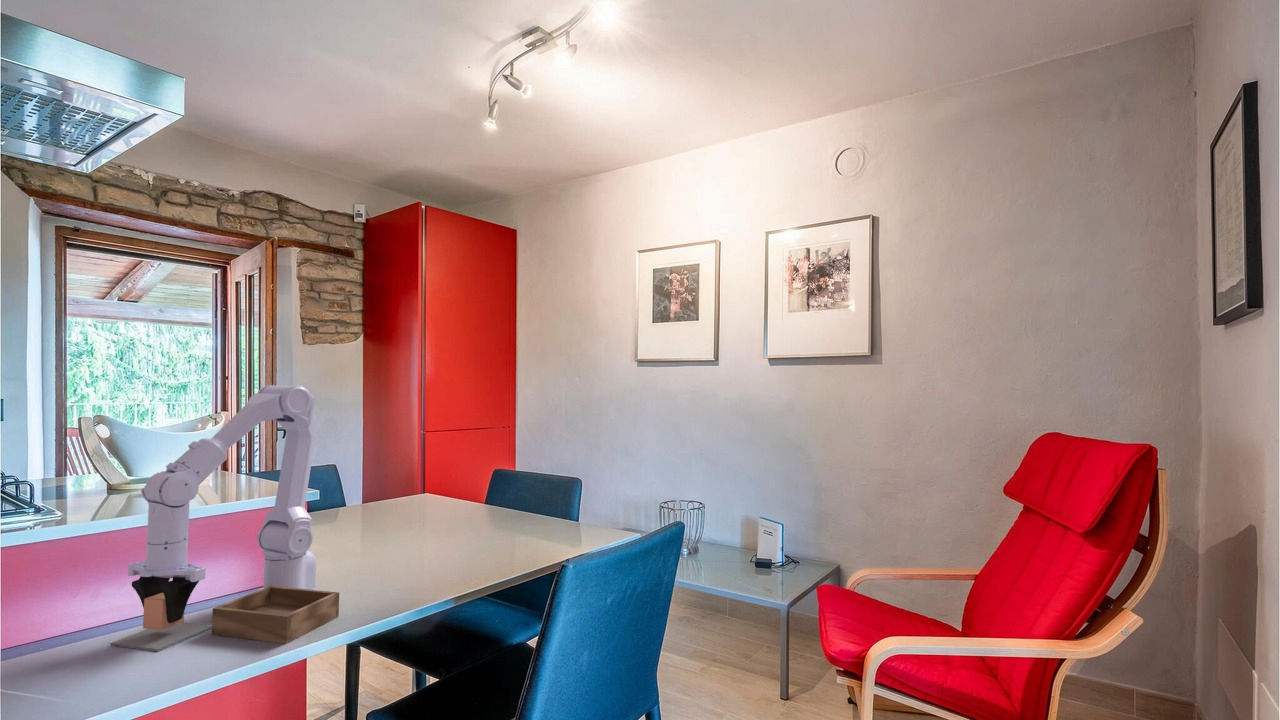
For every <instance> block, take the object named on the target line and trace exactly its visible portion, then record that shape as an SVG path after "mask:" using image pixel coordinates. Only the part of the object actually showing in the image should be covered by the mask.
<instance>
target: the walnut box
mask: <svg viewBox="0 0 1280 720" xmlns="http://www.w3.org/2000/svg"><path fill="white" fill-rule="evenodd" d="M211 611H212V615H211V617H212V618H211V626H212V629H211V635H213V636H221V637H229V638H230V637H231V638H238V639H244V640H245V639H246V640H255V641H262V642H270V643H278V644H279V643H280V644H289V643H290V642H292V641H294V640H296V639H298V638H300V637H302V636H304V635H305V634H308V633H310V632H311V631H315V629H317V628H319V627H321V626H323V625H325V624H327V623H329V622H331V621H333V620H334V619H336V618H337V619H338V617H339V615H340V612H339V611H340V592H336V591H327V590H319V589H318V590H309V589H298V588H288V587H278V586H269V587H266V588H264V589H263V588H262V589H258V590H256V591H254V592H252V593H249V594H246V595H244V596H241V597H239V598H236V599H233V600H230V601H228V602H225V603H224V604H220V605H218V606H216V607H212V610H211Z"/></svg>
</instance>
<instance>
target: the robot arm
mask: <svg viewBox="0 0 1280 720" xmlns="http://www.w3.org/2000/svg"><path fill="white" fill-rule="evenodd" d="M315 400H316V398H315V397H314V395H313V394H312V393H311V392H310V391H309V390H308V389H307V388H306V387H304V386H302V385H274V384H268V385H264V386H263V387H261V388H260V389H258V392H257V393H254V394H252V395H251V396H250V397H249V398H248V401H247V403H246V404H245V405H244V406H242V408H241V409H240V410H239V411H238V412H236V414H234V415H233V417H232V418H230V420H229V421H227V423H226V424H224V426H223V427H221V428H220V429H219V430H218V431H217V432H216V433H215V434H214V435H213V436H212V437H211V438H200V439H199V440H198V441H196V440H195V441H192V442H191V443H190V444H188V445H187V447H188V448H189V449H187V450H186V451H185V452H184V453H183V454H181V456H180V457H178V458H177V459H176V460H175V461H174V462H169V463H168V464H167V465H165V468H166V469H165V470H163V471H160V472H156V473H154V474H153V475H151V476H150V477H149V478H148V479H147V481H145V485H144V488H143V487H142V488H141V489H140V492H141V496H142V498H143V500H144V501H146V502H147V504H148V514H147V534H146V535H147V536H146V557H145V561H137V562H133V563H130V564H129V563H128V567H127V569H128V570H127V575H128V577H133V576H140V577H139V578H138V579H136V580H133V581H132V582H131V588H133V589H134V591H135V592H136V594H137V596H138V597H139V599H140V601H141V602H140V603H141V605H142V608H143V609H144V599H145V598H148V597H151V596H154V595H157V594H160V593H164V596H165V601H166V615H167V621H168V623H173V622H175V621H178V620H180V619H182V617H183V614H184V615H185V610H186V607H187V605H188V601H189V600H190V597H191V595H192V593H193V592H194V589H195V588H196V586H197V585H198V583H199V582H200V581H201V580H205V579H206V567H203V566H202V567H201V566H199V565H195V564H193V563H190V562H188V551H189V549H188V547H189V546H188V545H189V525H190V523H189V520H190V502H191V501H192V500H194V499H195V498H196V497H197V494H198V492H199V487H200V485H201V484H202V483H203V482H204V481H205V480H206V479H207V478H208V477H210V475H211V474H212V473H213V472H215V471H216V470H217V468H219V467H220V466H221V465H222V464H223V463H224V462H226V460H227V459H228V450H229V449H230V448H231V447H233V446H234V445H235V444H236V443H237V442H239V441H240V440H241V439H242V438H244V437H245V436H246V435H247V434H248V433H250V431H252V430H253V429H255V428H256V427H257V426H259V425H260V423H262V422H265V421H272V420H274V421H276V422H277V423H278V424H279V426H281V427H282V428H283V429H284V430H285V432H286V436H285V441H284V448H283V454H282V460H281V466H280V472H279V477H278V478H279V479H278V485H277V488H276V489H277V490H276V496H275V504H274V507H273V508H272V509H271V510H270V511H269V512H268V513H267V514H266V515H265V518H264V522H263V525H262V527H261V528H260V529H259V531H258V534H257V540H256V541H257V545H258V547H259V548H260V549H261V550H262V551H263V556H264V561H263V562H264V564H263V588H262V589H264V588H266V587H269V586H278V587H288V588H298V589H309V590H319V589H318V588H316V583H317V582H316V579H317V577H316V575H317V560H316V556H315V555H314V554H313V552H312V551H311V550H309V549H310V548H311V546H312V545H313V540H314V532H313V529H312V521H313V518H312V517H311V516H310V514H309V513H308V511H307V510H306V508H305V506H306V500H307V495H308V487H309V481H310V475H311V474H310V473H311V470H312V469H311V467H312V462H313V456H314V449H315V442H316V437H317V430H318V421H317V417H316V412H315V409H314V407H315V402H316V401H315ZM170 579H172V580H170Z"/></svg>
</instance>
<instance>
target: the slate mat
mask: <svg viewBox="0 0 1280 720" xmlns="http://www.w3.org/2000/svg"><path fill="white" fill-rule="evenodd" d="M210 630H212V625H210V624H200V623H192V622H191V623H190V622H185V621H184V622H182V623H180V624H177V625H175V626H172V627H169V628H167V629H164V630H162V631H161V630H153V629H142V630H140V631H137V632H135V633H133V634H130V635H127V636H125V637H123V638H120V639H117V640H114V641H112V642H110V646H112V647H113V646H114V647H121V648H129V649H136V650H142V651H151V652H156V653H157V652H160V651H163V650H165V649H167V648H170V647H173V646H175V645H177V644H179V643H181V642H184V641H186V640H188V639H191V638H194V637H196V636H198V635H201V634H203V633H205V632H208V631H210Z"/></svg>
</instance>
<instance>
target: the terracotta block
mask: <svg viewBox="0 0 1280 720" xmlns="http://www.w3.org/2000/svg"><path fill="white" fill-rule="evenodd" d="M142 620H143V622H142V629H144V630H146V629H153V630H161V631H162V630H164V629H167V628H169V627H172V626H175V625H177V624H180V623H182V622H184V623H185V613H184V614H183V617H182V619H180V620H178V621H175V622H173V623H168V621H167V615H166V601H165V596H164V593H160V594H157V595H154V596H151V597H148V598H145V599H144V608H143V618H142Z"/></svg>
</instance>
